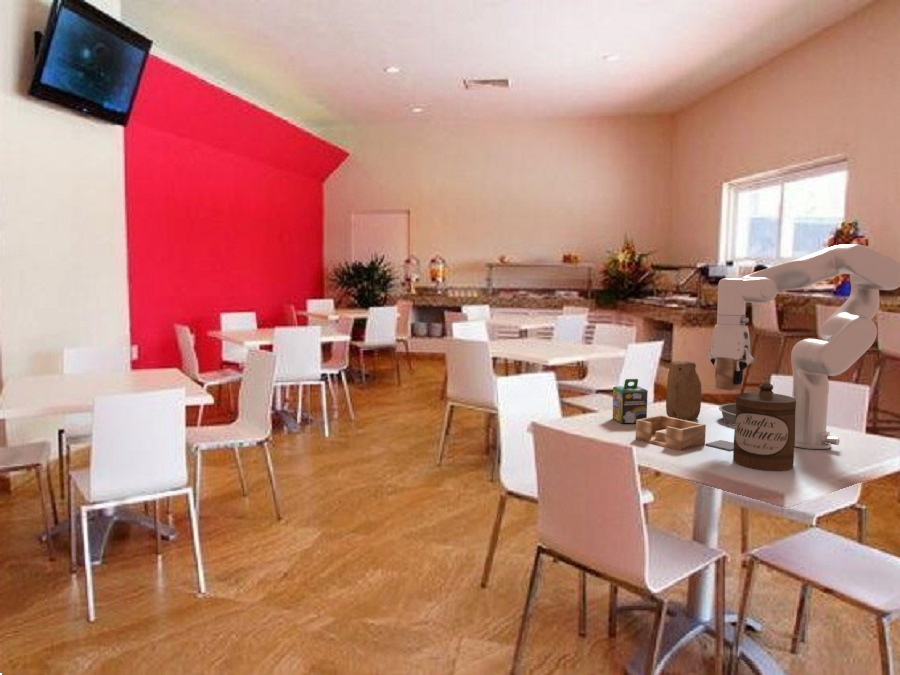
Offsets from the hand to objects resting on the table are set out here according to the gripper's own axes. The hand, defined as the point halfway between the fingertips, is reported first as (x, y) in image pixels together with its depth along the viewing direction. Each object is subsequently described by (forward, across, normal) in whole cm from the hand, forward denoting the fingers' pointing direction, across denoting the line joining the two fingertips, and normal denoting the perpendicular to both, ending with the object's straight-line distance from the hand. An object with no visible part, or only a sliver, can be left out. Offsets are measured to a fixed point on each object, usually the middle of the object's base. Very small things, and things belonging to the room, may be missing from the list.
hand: (728, 382), depth 200 cm
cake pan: (+20, +12, -38) cm, 44 cm away
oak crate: (+19, +13, +10) cm, 25 cm away
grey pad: (+19, 0, 0) cm, 19 cm away
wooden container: (+19, -16, +8) cm, 26 cm away
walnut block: (+2, 0, 0) cm, 2 cm away
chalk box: (+19, +38, -3) cm, 43 cm away
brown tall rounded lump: (+19, +30, -22) cm, 42 cm away
